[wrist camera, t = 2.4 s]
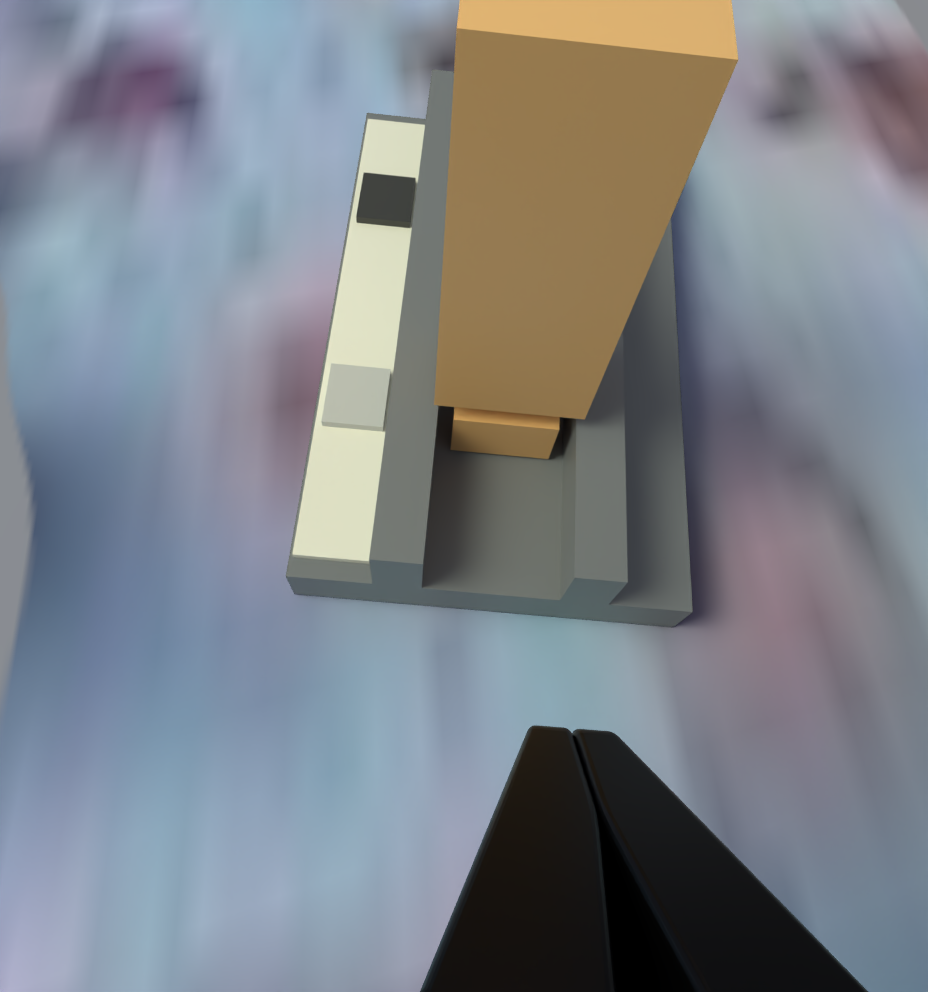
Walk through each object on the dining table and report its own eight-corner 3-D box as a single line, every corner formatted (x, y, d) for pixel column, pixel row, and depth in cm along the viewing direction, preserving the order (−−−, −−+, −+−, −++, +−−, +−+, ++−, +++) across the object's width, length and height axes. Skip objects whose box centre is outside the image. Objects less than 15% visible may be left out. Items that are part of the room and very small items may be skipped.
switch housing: (673, 627, 20) (720, 590, 17) (294, 593, 20) (274, 550, 17) (653, 180, 27) (684, 97, 24) (369, 150, 26) (364, 61, 23)
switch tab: (567, 461, 20) (738, 59, 10) (431, 448, 20) (456, 27, 10) (568, 383, 21) (724, -56, 11) (438, 371, 21) (469, -86, 11)
